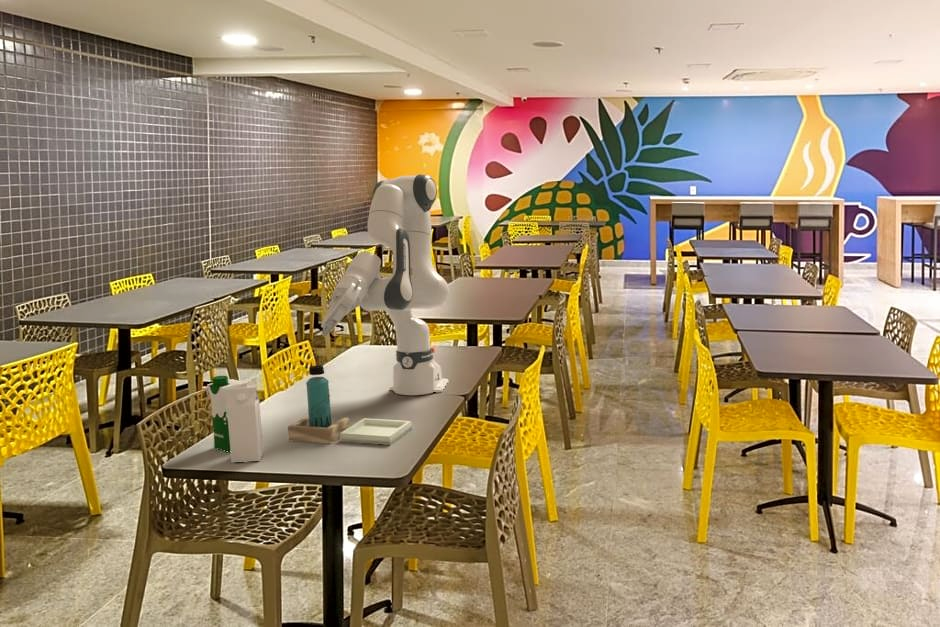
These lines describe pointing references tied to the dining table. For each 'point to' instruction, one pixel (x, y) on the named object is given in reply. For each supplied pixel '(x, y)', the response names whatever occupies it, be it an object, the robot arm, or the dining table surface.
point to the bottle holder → (316, 431)
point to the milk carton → (244, 425)
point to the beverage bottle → (318, 399)
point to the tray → (376, 431)
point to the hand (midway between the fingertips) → (329, 327)
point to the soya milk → (221, 408)
